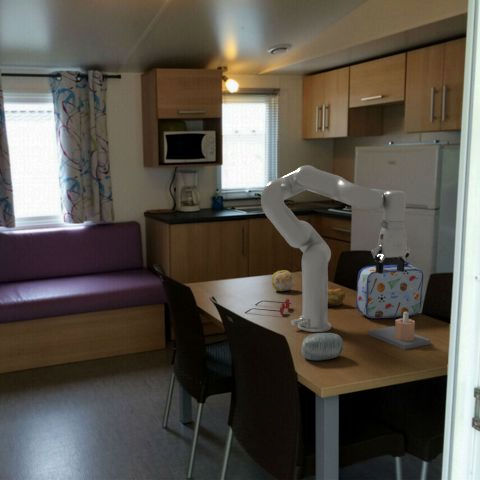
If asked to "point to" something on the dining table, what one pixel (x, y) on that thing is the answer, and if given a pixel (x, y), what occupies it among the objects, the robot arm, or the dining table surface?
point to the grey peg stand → (389, 337)
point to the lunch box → (389, 291)
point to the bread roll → (336, 297)
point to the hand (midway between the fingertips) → (389, 272)
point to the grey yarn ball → (322, 346)
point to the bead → (404, 330)
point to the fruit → (282, 280)
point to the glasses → (276, 310)
